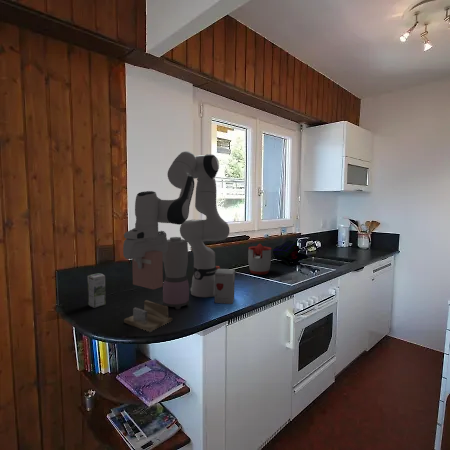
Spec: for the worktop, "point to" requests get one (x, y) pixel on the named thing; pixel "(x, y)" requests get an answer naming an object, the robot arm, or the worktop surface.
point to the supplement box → (224, 286)
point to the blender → (176, 273)
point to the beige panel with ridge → (152, 316)
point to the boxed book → (149, 270)
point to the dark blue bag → (289, 253)
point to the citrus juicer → (259, 259)
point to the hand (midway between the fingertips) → (147, 266)
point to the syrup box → (96, 290)
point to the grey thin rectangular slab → (140, 316)
